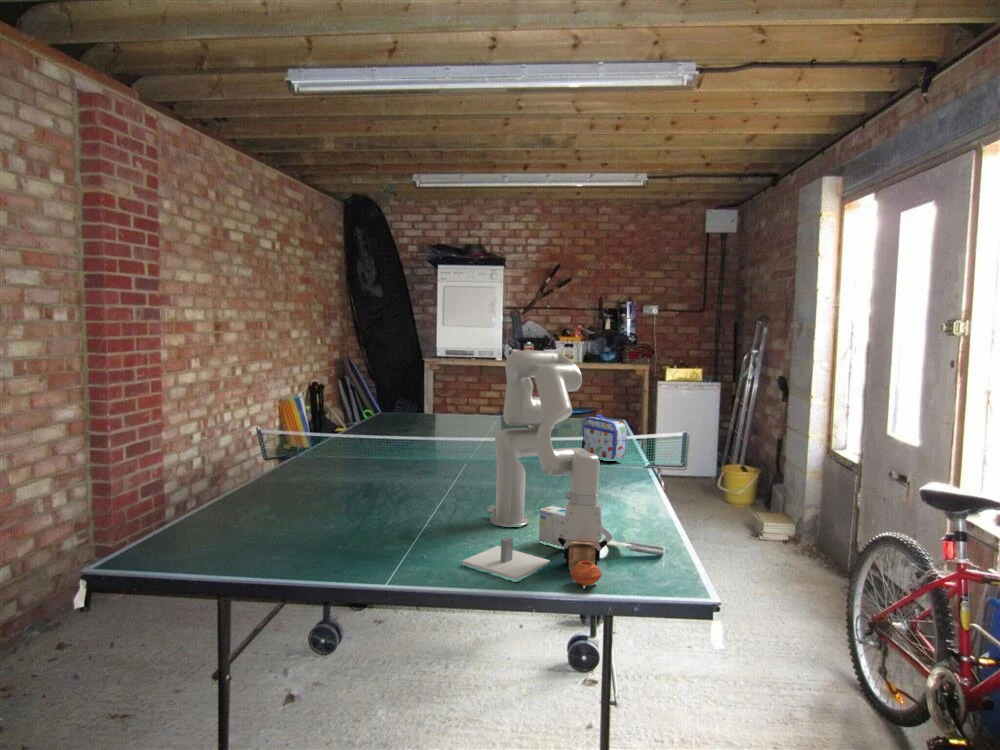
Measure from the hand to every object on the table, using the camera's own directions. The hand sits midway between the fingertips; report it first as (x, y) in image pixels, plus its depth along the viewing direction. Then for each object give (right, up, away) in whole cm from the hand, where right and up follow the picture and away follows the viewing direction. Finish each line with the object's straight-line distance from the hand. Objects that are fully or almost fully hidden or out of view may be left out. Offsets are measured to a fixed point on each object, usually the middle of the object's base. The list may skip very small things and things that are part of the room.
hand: (581, 561), depth 178 cm
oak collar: (0, -1, 0) cm, 1 cm away
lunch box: (+29, +9, +148) cm, 151 cm away
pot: (-1, -3, -13) cm, 13 cm away
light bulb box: (-5, 0, +17) cm, 18 cm away
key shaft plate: (-21, -1, -1) cm, 21 cm away
